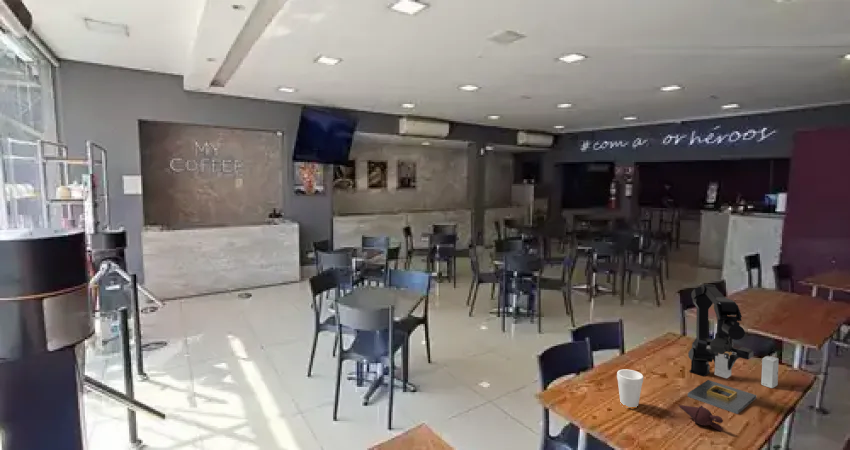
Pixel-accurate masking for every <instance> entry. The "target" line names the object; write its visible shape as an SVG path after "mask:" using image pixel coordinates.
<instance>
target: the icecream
mask: <svg viewBox="0 0 850 450" xmlns="http://www.w3.org/2000/svg"><path fill="white" fill-rule="evenodd" d="M678 407H679V408H680V409H681V410H682V411H684V412H685V413H686V414H687V415H688V416H689V417H691V418H692V419H693V422H694V424H695V425H696V424H698V425H700V426H711V427H712V429H715V430H716V431H719V432H722V431H723V427H722V426H721V425H720V424H722V423H723V422H724V420H723V418H722V416H719V415H713V414H712V412H711V411H710V409H707V408H705V407H704V406H703V405H700V406H698V407H697V406H691V405H690V406H689V405H684V404H683V405H682V404H678Z"/></svg>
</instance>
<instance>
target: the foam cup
mask: <svg viewBox="0 0 850 450" xmlns="http://www.w3.org/2000/svg"><path fill="white" fill-rule="evenodd" d="M616 379H617V385H618V393H619V394H618V395H619V400H620V402H621V403H622V404H623V405H626V406H628V407H637V406H638V407H639V404H640V403H639V402H640V397H641V392H642V386H643V383H644V375H643V374H642V372H639V371H637V370H634V369H626V368H625V369H619V370H617V372H616ZM621 403H620V404H621Z"/></svg>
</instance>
